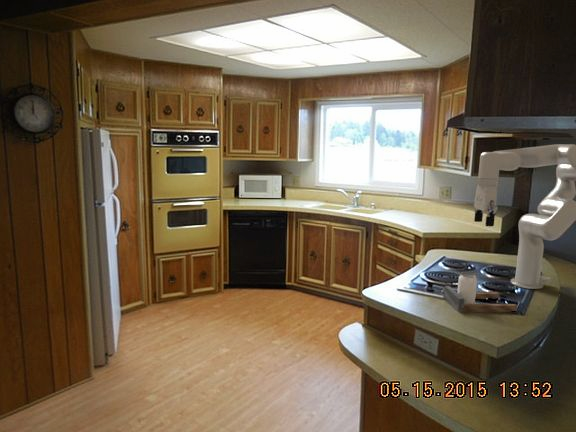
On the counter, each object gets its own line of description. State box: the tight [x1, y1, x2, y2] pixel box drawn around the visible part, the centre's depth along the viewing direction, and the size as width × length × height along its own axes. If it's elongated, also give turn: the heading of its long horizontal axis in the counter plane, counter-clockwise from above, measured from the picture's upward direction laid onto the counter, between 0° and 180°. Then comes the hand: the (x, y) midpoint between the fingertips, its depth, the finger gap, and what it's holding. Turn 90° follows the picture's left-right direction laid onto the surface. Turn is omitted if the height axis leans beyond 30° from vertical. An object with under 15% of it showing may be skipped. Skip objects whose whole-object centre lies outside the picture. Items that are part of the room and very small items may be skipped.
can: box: [456, 272, 478, 304], centre depth 165 cm, size 6×6×12 cm
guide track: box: [442, 285, 518, 313], centre depth 166 cm, size 22×14×5 cm, turn 92°
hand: (483, 223), depth 179 cm, fingers open, 9 cm apart
